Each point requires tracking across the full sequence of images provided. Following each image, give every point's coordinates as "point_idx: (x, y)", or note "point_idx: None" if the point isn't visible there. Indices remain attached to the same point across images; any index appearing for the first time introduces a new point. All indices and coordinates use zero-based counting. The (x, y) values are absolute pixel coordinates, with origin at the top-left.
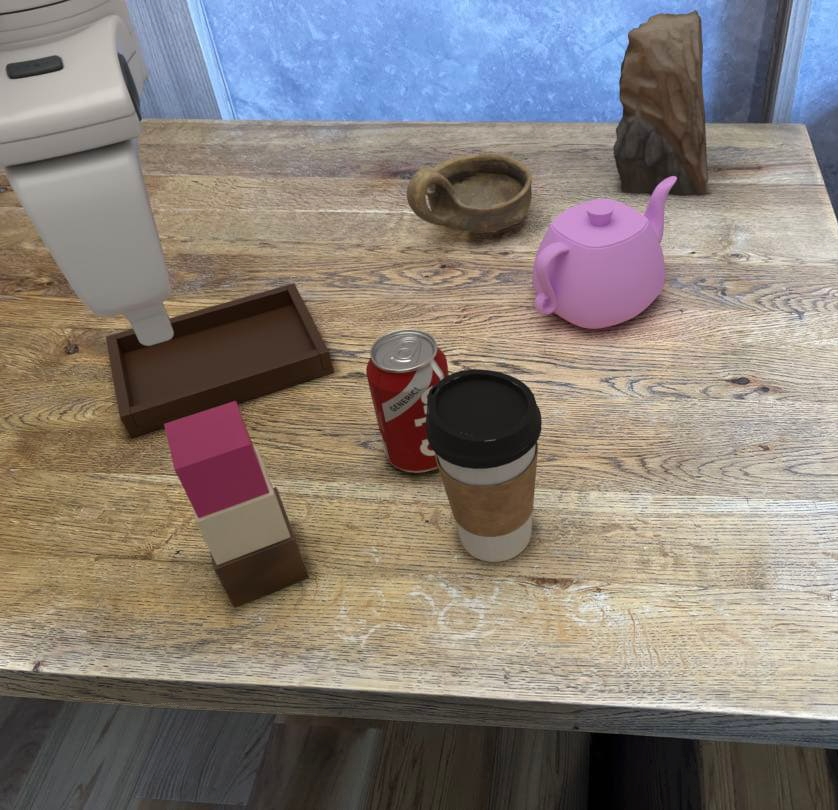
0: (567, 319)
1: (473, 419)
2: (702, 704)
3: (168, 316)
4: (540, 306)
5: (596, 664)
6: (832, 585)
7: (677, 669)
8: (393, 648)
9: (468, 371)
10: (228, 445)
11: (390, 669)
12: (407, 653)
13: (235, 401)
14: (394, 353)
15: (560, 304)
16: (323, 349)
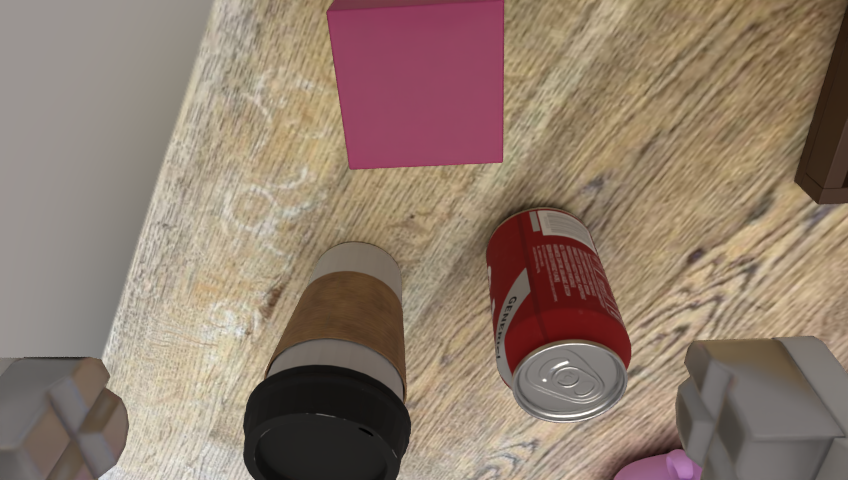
0: (651, 460)
1: (307, 438)
2: (104, 353)
3: (117, 458)
4: (674, 462)
5: (161, 300)
6: (199, 471)
7: (142, 352)
8: (230, 128)
9: (394, 471)
10: (361, 130)
11: (202, 117)
12: (219, 141)
13: (499, 161)
14: (578, 366)
15: (662, 477)
16: (830, 198)
